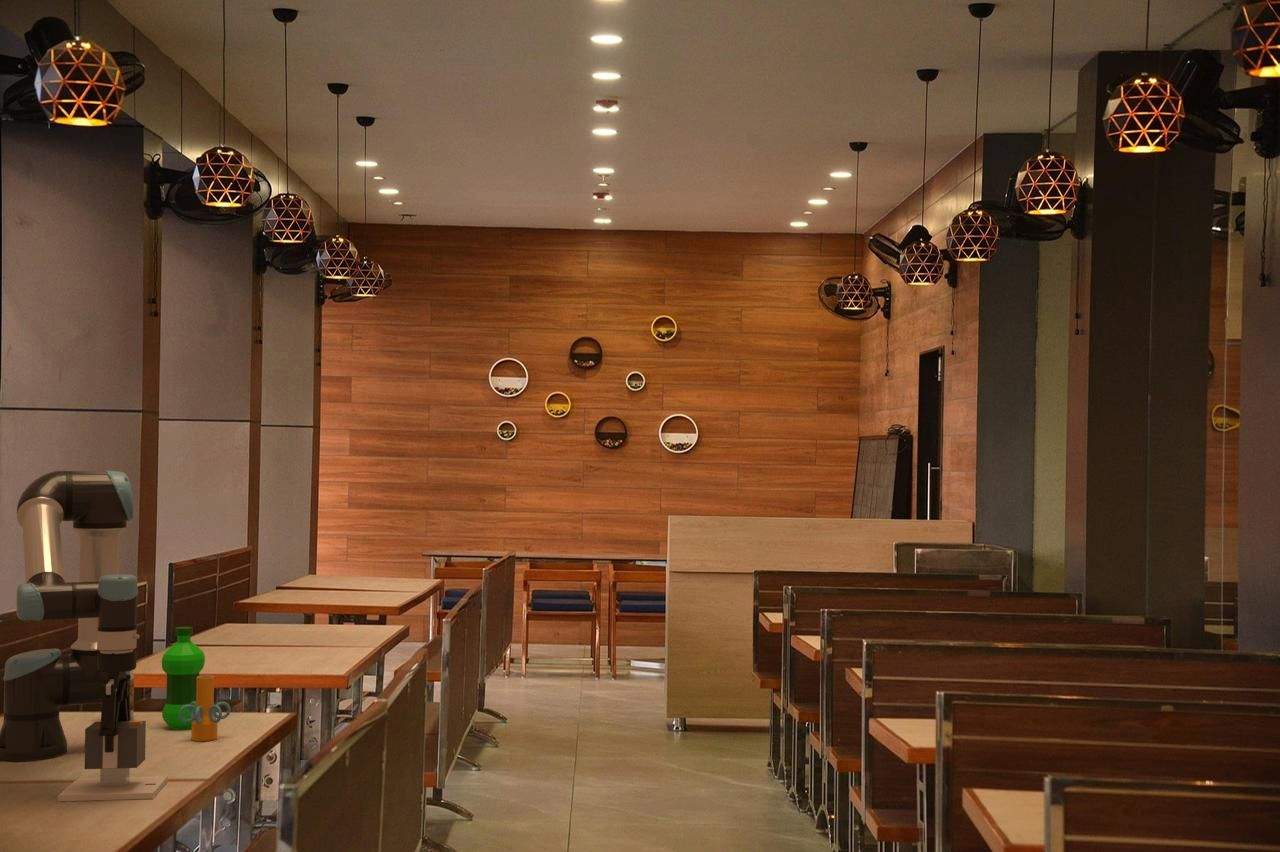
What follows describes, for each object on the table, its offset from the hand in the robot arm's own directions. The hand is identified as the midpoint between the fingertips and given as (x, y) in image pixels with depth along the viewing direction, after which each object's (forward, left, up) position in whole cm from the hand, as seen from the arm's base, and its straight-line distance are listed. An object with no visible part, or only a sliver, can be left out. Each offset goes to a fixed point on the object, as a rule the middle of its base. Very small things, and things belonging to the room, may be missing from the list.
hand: (115, 763), depth 273 cm
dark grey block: (0, 0, 0) cm, 0 cm away
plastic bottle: (+1, +65, -6) cm, 65 cm away
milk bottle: (-17, +75, -6) cm, 77 cm away
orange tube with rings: (+9, +50, -6) cm, 51 cm away
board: (0, 0, -6) cm, 6 cm away
